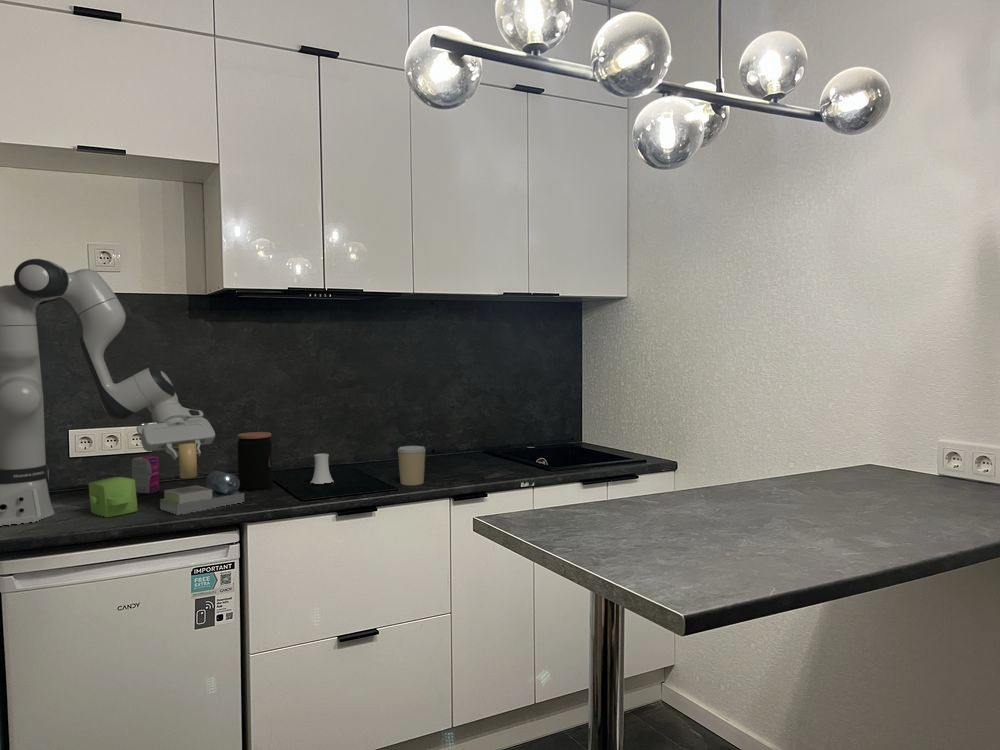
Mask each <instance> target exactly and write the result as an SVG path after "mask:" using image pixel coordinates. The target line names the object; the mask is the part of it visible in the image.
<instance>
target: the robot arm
mask: <svg viewBox="0 0 1000 750" xmlns="http://www.w3.org/2000/svg"><path fill="white" fill-rule="evenodd" d="M13 274H14V275H13V280H14V283H13V284H8V285H7V284H6V285H1V286H0V526H2V525H9V526H12V525H11V524H17V525H22V524H21V523H24V524H30V523H29V522H32V523H36V521H37V522H39V520H40V521H42V520H43V519H46V518H49V517H51V516H54V514H56V513H55V511H54V507H53V505H52V502H51V497H50V492H49V486H48V484H49V479H50V477H49V468H48V467H49V466H48V464H47V463H46V460H47V459H46V437H45V414H44V413H45V412H44V411H45V409H44V407H45V406H44V392H43V391H44V390H43V381H42V371H41V359H40V349H39V338H38V326H37V317H36V316H37V315H36V311H37V307H38V306H39V305H43V304H47V303H50V302H53V301H54V302H55V301H57V300H59V299H61V298H62V299H65V300H66V301H68V302H69V304H70V305H71V306H72V308H73V310H74V311H75V312H76V314H77V316H78V317H79V319H80V322H81V323H82V325H81V326H82V335H81V336H80V337H79V343H80V348H81V351H82V353H83V356H84V359H85V361H86V364H87V367H88V369H89V371H90V374H91V376H92V379H93V382H94V384H95V386H96V388H97V391H98V395H99V397H100V401H101V404H102V407H103V409H104V411H105V412H106V414H107V415H108V416H109V417H110V418H112V419H117V420H128V418H130V417H132V416H133V415H135V414H136V413H138V412H139V411H141V410H143V409H145V408H147V410H148V411H149V412H150V414H151V419H152V421H151V422H142V423H140V424H139V425H137V426H136V432H137V433H138V435H139V436H140V440H141V441H140V442H141V446H142V447H143V448H142V449H143V450H145V451H146V452H155V451H165V452H166V454H169V455H170V456H171V458H172V459H173V460H179V457H180V454H179V450H175V449H179V444H183V443H196V456H197V457H200V456H201V455H202V454H201V453H202V452H201V450H200V448H201V446H204V445H210V444H212V443H213V442H214V440H215V437H216V432H215V429H214V428H213V427H212V425H211V423H210V422H209V420H208V419H206V418H205V417H204V413H203V411H202V410H200V409H199V410H198V409H191V408H186V407H183V406H182V404H181V403H180V402H179V398H178V395H177V393H176V388H175V385H174V383H173V382H172V379H171V377H170V376H169V375H168V373H166V371H164V370H163V369H161V368H157V367H153V366H152V367H151V366H150V367H148V368H144V369H143V370H141V371H139V372H137V373H135V374H134V375H131V376H130V377H128V378H126V379H124V380H122V381H120V382H118V383H116V382H115V383H114V381H113V378H112V376H111V374H110V371H109V369H108V367H107V363H106V361H105V357H104V355H105V354H104V353H105V351H106V349H107V347H108V346H109V344H110V343H111V342H112V341H113V340H114V339H115V337H117V336H118V334H119V333H120V332H121V331H122V329H123V328H124V325H125V324H126V311H125V309H124V307H123V305H122V304H121V302H120V300H119V298H118V297H117V295H116V294H115V292H114V291H113V289H112V288H111V286H110V285H109V284H108V283H107V281H105V279H104V278H103V277H102V276H101V275H100V273H98V272H97V271H96V270H94V269H90V268H82V269H81V268H80V269H77V270H75V271H73V272H67V271H66V270H65V268H64V267H62V266H60V265H59V264H57V263H56V262H53V261H51V260H47V259H41V258H31V259H27V260H25V261H23V262H21V263H20V264H19V265H18V266H17V267H16V268H15V270H14V273H13ZM41 519H42V520H41ZM2 527H3V526H2Z"/></svg>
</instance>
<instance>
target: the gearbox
mask: <svg viewBox="0 0 1000 750" xmlns="http://www.w3.org/2000/svg"><path fill="white" fill-rule="evenodd" d="M88 493H89V495H88V496H89V503H90V512H92V513H91V514H93V513H95V514H94V515H96V514H98V515H97V516H99V515H101V516H100V517H103V516H104V517H103V518H111V517H117V516H120V515H126V514H127V515H128V514H132V513H135V512H138V511H139V509H138V498H137V494H136V486H135V480H134V479H132V478H130V477H124V476H115V477H113V476H112V477H108V478H103V479H100V480H99V479H98V480H95V481H91V482H88Z"/></svg>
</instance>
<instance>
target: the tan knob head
mask: <svg viewBox="0 0 1000 750" xmlns="http://www.w3.org/2000/svg"><path fill="white" fill-rule="evenodd" d="M178 451H179V454H180V457H179V459H178V461H179V462H178V463H179V466H178V467H179V478H180V479H192V478H193V479H194V478H196V477H198V463H197V462H198V461H197V459H198V458H197V457H198V456H196V443H183V444H179V448H178Z"/></svg>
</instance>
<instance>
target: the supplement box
mask: <svg viewBox="0 0 1000 750" xmlns="http://www.w3.org/2000/svg"><path fill="white" fill-rule="evenodd" d="M159 462H160V459H159V456H146V455H145V456H144V455H143V456H140V457H134V458H131V479H134V480H135V486H136V495H140V494H148V495H151V494H154V493H157V491H158V492H160V482H159V481H160V474H159V473H160V470H159V469H160V468H159V464H160V463H159ZM150 493H151V494H150Z"/></svg>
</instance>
